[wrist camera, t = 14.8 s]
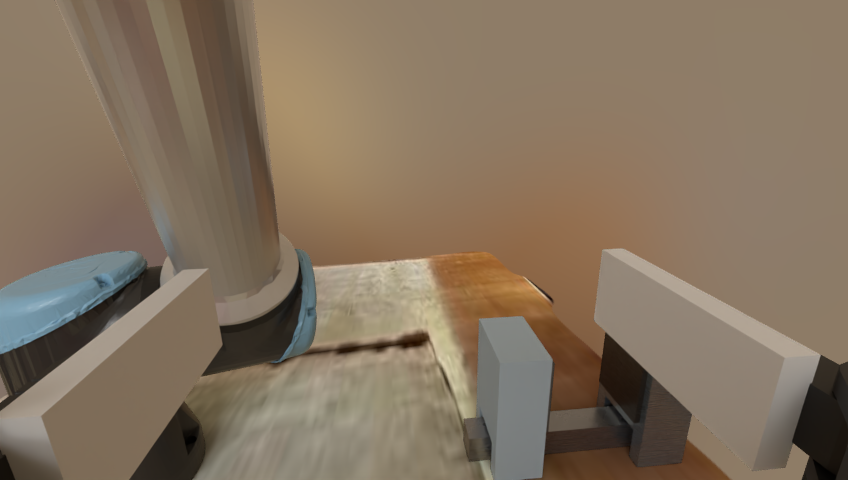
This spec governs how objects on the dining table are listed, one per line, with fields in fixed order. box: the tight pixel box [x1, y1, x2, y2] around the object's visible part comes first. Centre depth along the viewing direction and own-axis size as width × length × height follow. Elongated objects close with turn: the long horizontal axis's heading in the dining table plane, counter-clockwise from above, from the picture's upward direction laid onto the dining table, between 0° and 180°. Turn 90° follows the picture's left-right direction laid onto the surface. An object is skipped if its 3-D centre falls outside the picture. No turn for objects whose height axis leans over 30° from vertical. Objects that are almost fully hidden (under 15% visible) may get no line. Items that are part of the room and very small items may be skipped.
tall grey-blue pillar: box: [476, 316, 555, 480], centre depth 43 cm, size 9×6×14 cm, turn 6°
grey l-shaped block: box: [463, 333, 692, 467], centre depth 44 cm, size 22×9×14 cm, turn 96°
